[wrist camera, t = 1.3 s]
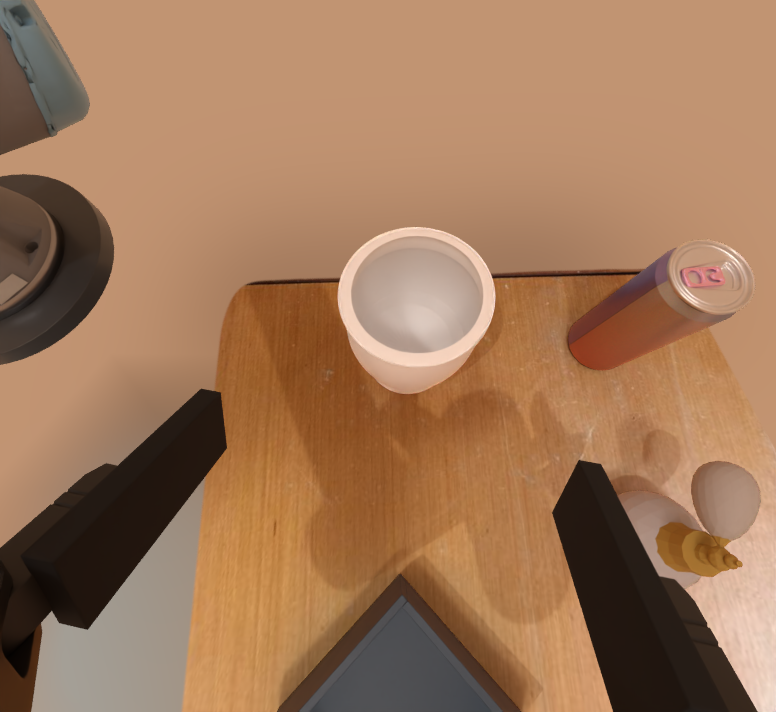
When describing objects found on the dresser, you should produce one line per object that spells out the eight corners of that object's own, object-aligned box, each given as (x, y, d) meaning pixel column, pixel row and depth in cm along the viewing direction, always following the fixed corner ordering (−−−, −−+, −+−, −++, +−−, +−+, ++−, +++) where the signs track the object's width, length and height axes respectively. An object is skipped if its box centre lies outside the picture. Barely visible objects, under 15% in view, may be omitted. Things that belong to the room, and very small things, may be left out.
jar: (365, 413, 37) (349, 380, 23) (350, 319, 40) (327, 237, 26) (467, 394, 37) (516, 351, 23) (445, 303, 40) (476, 214, 26)
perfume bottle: (593, 580, 33) (704, 643, 21) (569, 467, 35) (655, 468, 24) (676, 573, 33) (831, 631, 21) (645, 460, 36) (767, 458, 24)
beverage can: (560, 320, 40) (656, 239, 25) (614, 316, 40) (741, 233, 25) (571, 374, 38) (682, 319, 24) (628, 369, 38) (772, 312, 24)
